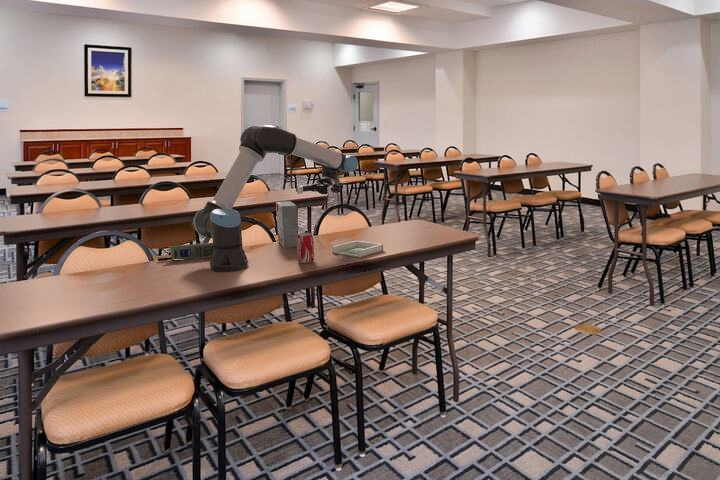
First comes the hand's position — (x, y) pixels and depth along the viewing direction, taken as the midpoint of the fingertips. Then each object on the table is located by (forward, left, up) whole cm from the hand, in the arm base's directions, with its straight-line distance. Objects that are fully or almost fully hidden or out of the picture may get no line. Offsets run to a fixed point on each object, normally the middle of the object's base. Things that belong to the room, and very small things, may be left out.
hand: (313, 190), depth 245 cm
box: (+13, -13, -28) cm, 34 cm away
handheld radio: (-38, +41, -28) cm, 63 cm away
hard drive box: (+8, +26, -28) cm, 39 cm away
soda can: (-13, -7, -28) cm, 32 cm away
